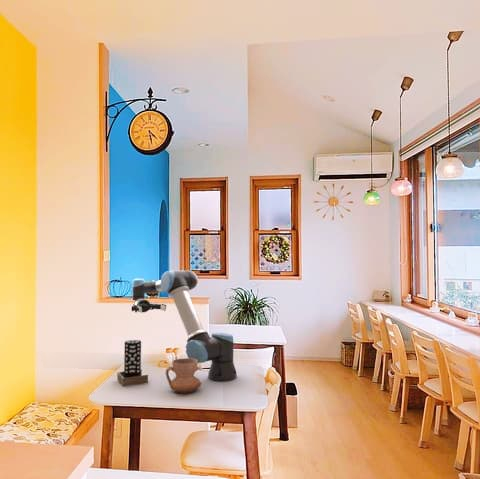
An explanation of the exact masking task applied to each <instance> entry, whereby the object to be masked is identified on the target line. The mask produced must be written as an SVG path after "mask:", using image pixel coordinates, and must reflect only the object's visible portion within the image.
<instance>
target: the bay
mask: <svg viewBox="0 0 480 479" xmlns="http://www.w3.org/2000/svg"><path fill="white" fill-rule="evenodd" d="M142 370H143V369H142V368H141V376H135V377H128V378H124V371H119V372H117V373H116V374H117V376H116V377H117V378H116V381H117V382H119V384H120V385H121V387H122V388H124V387H132V386H136V385H137V386H138V385H145V384H148V383H149V374H143V373H142V372H143V371H142ZM142 374H143V375H142Z"/></svg>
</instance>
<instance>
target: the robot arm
mask: <svg viewBox="0 0 480 479" xmlns="http://www.w3.org/2000/svg"><path fill="white" fill-rule="evenodd" d="M198 281H199V278H198V276H197V273H195V272H194V271H192V270H188V269H186V270H167V271H165V272H164V273H163V274H162V275H161V279H160V280H156V281H155V280H153V281H145V279H144V278H135V279H133V280H132V285H131V288H132V295H131V296H132V297H131V300H132V299H133V300H135V301H134V304H133V306H132V307H131V312H134V313H138V312H139V313H141V314H142V313H147V312H148V311H152V310H160V311H163V312H165V311H166V310H167V304H164V303H161V304H160V303H151V302H150V301H149V300H148V299H145V296H146V294H159V293H161V294H162V293H167V294H168V297H169V298H170V299H172V300H173V302H174V303H175V306H176V309H177V311H178V315H179V317H180V319H181V321H182V325H183V327H184V330H185V332H186V334H187V336H188V337H187V339H186V342H187V343H186V346H185V353H186V356H187V358H193V359H197V360H198V363H197V364H203V363H206V362H210V361H211V363H210V367H209V370H208V377H207V378H208V379H209V380H211V381H217V382H226V381H227V382H228V381H233V380H235V379H237V374H238V373H237V369H236V367H235V366H236V365H235V363H234V336H233V334H229V333H224V332H212V334H211V336H210V335H209V332H208V331H207V330H204V328H203V325H202V324H201V320H200V318H199V316H198V314H197V311H196V309H195V306H194V304H193V302H192V300H191V297H190V294H189V291H191V290H193V289H195V288H196V287H197V284H198Z"/></svg>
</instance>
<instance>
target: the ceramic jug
mask: <svg viewBox="0 0 480 479" xmlns="http://www.w3.org/2000/svg"><path fill="white" fill-rule="evenodd" d="M171 364H172V366H168V367H167V368H166V370H165V377H166V379H167V382H168V385H169V387H170V389H171V390H172V391H174V392H176V393H180V394H187V393H192V392H195V391H196V390H198V389H199V388H200V387H201V385H202V382H201V381H200V379H199V378H198V377H197V376H195V374H196V372H197V371H198V370H200V371H202V369H203V367H202V366H198V364H199V363H198V360H197V359H193V358H188V357H187V358H176V359H173V360H172V363H171ZM169 371H172V372H174V374H175V375H176V376H175V377H174V378H173V379H170V378H171V377H170V375H169Z"/></svg>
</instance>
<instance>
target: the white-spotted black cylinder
mask: <svg viewBox="0 0 480 479" xmlns="http://www.w3.org/2000/svg"><path fill="white" fill-rule="evenodd" d="M123 357H124V359H123V360H124V364H123V365H124V367H123V372H124V378H128V377H135V376H141V369H142V341H141V340H140V339H139V340H138V339H131V340H126V341H124V356H123Z"/></svg>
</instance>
